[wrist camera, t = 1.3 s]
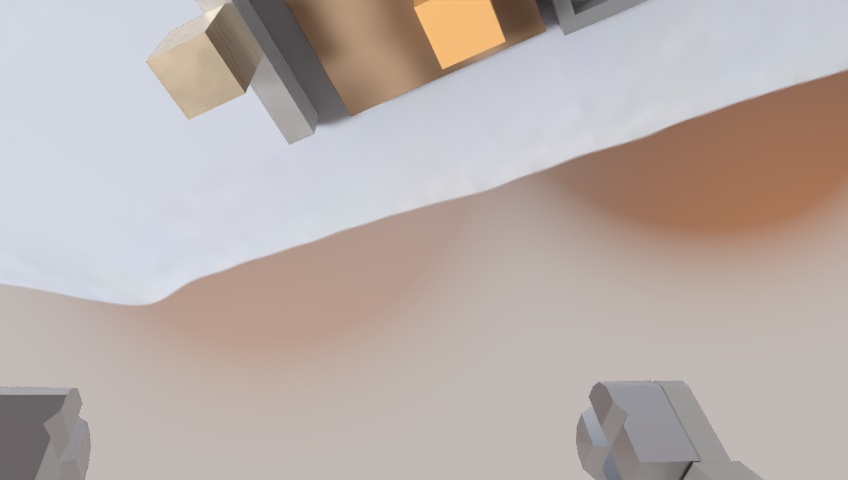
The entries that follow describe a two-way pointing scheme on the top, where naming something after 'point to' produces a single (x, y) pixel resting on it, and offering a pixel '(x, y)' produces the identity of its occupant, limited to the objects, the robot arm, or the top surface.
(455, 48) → the orange cube
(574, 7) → the tray
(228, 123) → the top surface
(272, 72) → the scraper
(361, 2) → the chopping board
